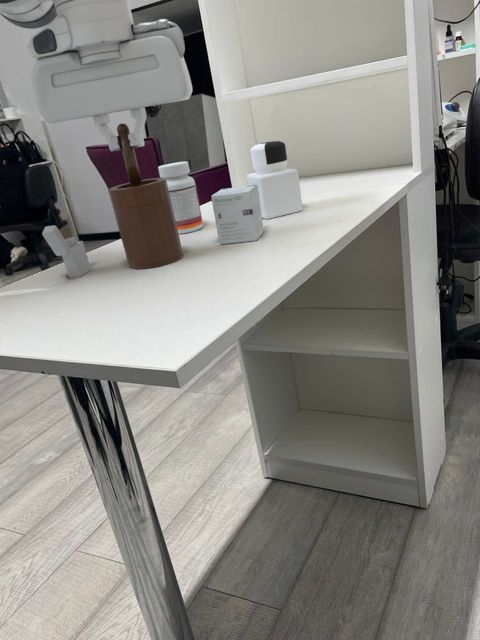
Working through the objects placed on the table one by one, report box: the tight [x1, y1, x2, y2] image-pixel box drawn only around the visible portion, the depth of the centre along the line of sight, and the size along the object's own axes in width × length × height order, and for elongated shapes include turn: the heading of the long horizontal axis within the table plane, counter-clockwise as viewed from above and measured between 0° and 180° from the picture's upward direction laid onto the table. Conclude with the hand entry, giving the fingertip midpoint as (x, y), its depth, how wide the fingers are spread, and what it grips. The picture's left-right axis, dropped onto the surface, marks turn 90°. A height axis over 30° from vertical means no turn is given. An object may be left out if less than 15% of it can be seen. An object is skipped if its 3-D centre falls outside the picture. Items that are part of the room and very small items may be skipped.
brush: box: [116, 123, 142, 187], centre depth 74 cm, size 4×4×14 cm
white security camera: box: [246, 140, 304, 220], centre depth 95 cm, size 7×7×12 cm
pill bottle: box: [157, 161, 204, 235], centre depth 94 cm, size 6×6×11 cm
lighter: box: [41, 224, 92, 280], centre depth 76 cm, size 7×2×8 cm, turn 172°
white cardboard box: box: [210, 185, 265, 245], centre depth 82 cm, size 6×6×7 cm
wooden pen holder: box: [107, 177, 184, 270], centre depth 77 cm, size 8×8×11 cm
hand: (127, 148), depth 73 cm, fingers closed on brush
